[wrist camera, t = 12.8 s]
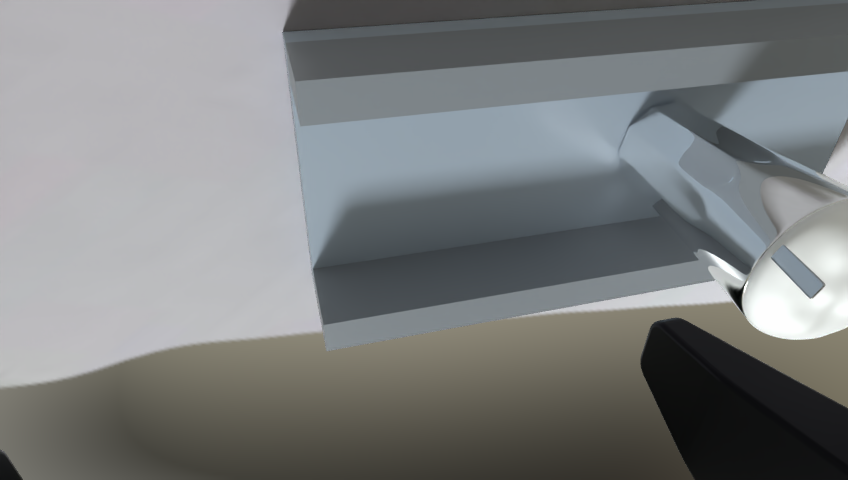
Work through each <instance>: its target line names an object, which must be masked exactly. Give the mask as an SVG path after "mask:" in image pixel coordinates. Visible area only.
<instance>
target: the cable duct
mask: <svg viewBox="0 0 848 480" xmlns="http://www.w3.org/2000/svg"><path fill="white" fill-rule="evenodd" d="M282 33H283V41H284V49H285V57H286V65H287V73H288V81H289V89H290V98H291V106H292V114H293V122H294V130H295V138H296V146H297V154H298V162H299V171H300V179H301V187H302V195H303V203H304V211H305V219H306V227H307V236H308V244H309V252H310V260H311V268H312V276H313V282H314V287H315V293H316V298H317V303H318V309H319V314H320V319H321V324H322V330H323V335H324V340H325V346H326V350H327V351H330V350H335V349H341V348H346V347H351V346H357V345H362V344H368V343H374V342H379V341H385V340H390V339H396V338H401V337H407V336H412V335H418V334H423V333H428V332H434V331H439V330H445V329H451V328H456V327H462V326H467V325H473V324H477V323H483V322H489V321H494V320H500V319H505V318H511V317H516V316H522V315H527V314H533V313H538V312H544V311H549V310H555V309H560V308H566V307H571V306H577V305H582V304H588V303H593V302H599V301H604V300H610V299H615V298H621V297H626V296H632V295H637V294H643V293H648V292H654V291H659V290H665V289H670V288H676V287H681V286H687V285H692V284H698V283H703V282H709V281H714V280H715V279H714V278H713V276H712V275H711V274H710V273H709V271H708V270H707V269H706V268H705V267H704V265H703V264H702V263H701V262H700V261H699V259H698V258H697V257H696V256H695V255H694V253H693V252H692V251H691V250H690V249H689V248H688V247H687V246H686V244H685V243H684V242H683V241H682V240H681V239H680V238H679V236H678V235H677V234H676V233H675V232H674V231H673V229H672V228H671V227H670V226H669V225H668V224H667V223H666V221H665V220H664V219H663V218H662V217H661V216H660V215H659V213H658V212H657V211H656V210H655V209H654V208H653V206H652V205H651V204H650V203H649V202H648V201H647V199H646V198H645V197H644V196H643V195H642V194H641V193H640V191H639V190H638V189H637V188H636V187H635V186H634V184H633V183H632V182H631V181H630V180H629V179H628V178H627V176H626V175H625V174H624V172H623V168H622V164H621V160H620V156H619V149H620V147H621V144H622V142H623V140H624V137H625V135H626V132H627V130H628V128H629V126H630V125H631V124H633V123H634V122H635V121H636V120H637V119H638V118H639V117H641V116H642V115H643V114H644V113H645V112H646V111H648V110H649V109H650V108H651V107H654V106H659V105H664V104H668V103H673V102H679V103H682V104H684V105H685V106H687V107H689V108H691V109H693V110H695V111H697V112H699V113H701V114H703V115H705V116H706V117H708V118H710V119H712V120H714V121H716V122H718V123H720V124H722V125H724V126H725V127H727V128H729V129H731V130H733V131H735V132H737V133H739V134H741V135H743V136H745V137H747V138H748V139H750V140H752V141H754V142H756V143H758V144H760V145H762V146H764V147H766V148H768V149H770V150H772V151H774V152H776V153H778V154H780V155H782V156H784V157H786V158H789V159H791V160H793V161H795V162H798V163H800V164H802V165H804V166H807V167H809V168H811V169H813V170H815V171H817V172H819V173H821V174H823V171H824V169H825V167H826V165H827V163H828V160H829V158H830V156H831V154H832V152H833V149H834V147H835V145H836V143H837V141H838V138H839V136H840V134H841V132H842V130H843V128H844V125H845V123H846V121H847V119H848V0H755V1H740V2H725V3H710V4H695V5H680V6H665V7H650V8H635V9H620V10H605V11H590V12H575V13H560V14H545V15H530V16H515V17H500V18H486V19H471V20H456V21H441V22H426V23H411V24H396V25H381V26H366V27H351V28H336V29H321V30H306V31H291V32H282Z"/></svg>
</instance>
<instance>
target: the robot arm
mask: <svg viewBox="0 0 848 480" xmlns="http://www.w3.org/2000/svg"><path fill="white" fill-rule="evenodd" d="M641 369H642V372H643V375H644V377H645V379H646V381H647V383H648V386H649V388H650V390H651V392H652V394H653V396H654V399H655V401H656V403H657V405H658V407H659V409H660V411H661V414H662V416H663V418H664V420H665V422H666V424H667V426H668V429H669V431H670V433H671V435H672V437H673V440H674V442H675V444H676V446H677V448H678V450H679V452H680V454H681V456H682V458H683V460H684V462H685V464H686V465H687V467H688V469H689V471H690V472H691V474H692V476H693V478H694V479H695V480H848V408H847V407H845V406H843V405H841V404H839V403H837V402H835V401H834V400H832V399H830V398H828V397H826V396H824V395H822V394H820V393H819V392H817V391H815V390H813V389H811V388H810V387H808V386H806V385H804V384H802V383H800V382H798V381H797V380H795V379H793V378H791V377H789V376H787V375H786V374H784V373H782V372H780V371H778V370H776V369H774V368H773V367H771V366H769V365H767V364H765V363H763V362H761V361H760V360H758V359H756V358H754V357H752V356H750V355H749V354H746V353H745V352H743V351H741V350H739V349H737V348H735V347H734V346H732V345H730V344H728V343H726V342H725V341H722V340H721V339H719V338H717V337H715V336H713V335H712V334H709V333H708V332H706V331H704V330H702V329H700V328H698V327H697V326H695V325H693V324H691V323H689V322H688V321H685V320H683V319H681V318H671V319H666V320H660V321H657V322H655V323H654V324H652V326H651V328H650V331H649V333H648V336H647V340H646V343H645V346H644V349H643V352H642V355H641ZM0 480H23V479H22V477H21V476H20V474H19V473H18V471H17V470H16V468H15V467H14V465H13V464H12V462H11V461H10V459H9V457H8V456H7V455H6V453H5V452H4V451H2V450H0Z"/></svg>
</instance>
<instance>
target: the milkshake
mask: <svg viewBox="0 0 848 480" xmlns="http://www.w3.org/2000/svg"><path fill="white" fill-rule="evenodd" d="M619 156H620V160H621V164H622V168H623V172H624V174H625V175H626V176H627V178H628V179H629V180H630V181H631V182H632V183H633V184H634V186H635V187H636V188H637V189H638V190H639V191H640V193H641V194H642V195H643V196H644V197H645V198H646V199H647V201H648V202H649V203H650V204H651V205H652V206H653V208H654V209H655V210H656V211H657V212H658V213H659V215H660V216H661V217H662V218H663V219H664V220H665V221H666V223H667V224H668V225H669V226H670V227H671V228H672V229H673V231H674V232H675V233H676V234H677V235H678V236H679V238H680V239H681V240H682V241H683V242H684V243H685V244H686V246H687V247H688V248H689V249H690V250H691V251H692V252H693V253H694V255H695V256H696V257H697V258H698V259H699V261H700V262H701V263H702V264H703V265H704V267H705V268H706V269H707V270H708V271H709V273H710V274H711V275H712V276H713V278H714V279H715V280H716V281H717V283H718V284H719V285H720V286H721V288H722V289H723V290H724V291H725V292H726V294H727V295H728V296H729V297H730V299H731V300H732V301H733V302H734V303H735V305H736V306H737V307H738V309H739V310H740V311H741V312H742V313H743V315H744V316H745V317H746V318H747V319H748V321H749V322H750V323H751V324H752V325H753V326H754V327H755V328H757V329H758V330H760V331H762V332H764V333H766V334H768V335H771V336H774V337H778V338H784V339H795V340H796V339H797V340H799V339H813V338H819V337H822V336H825V335H828V334H831V333H834V332H837V331H839V330H842V329H844V328H847V327H848V186H847V185H845V184H843V183H840V182H838V181H836V180H834V179H832V178H830V177H828V176H826V175H824V174H821V173H819V172H817V171H815V170H813V169H811V168H809V167H807V166H804V165H802V164H800V163H798V162H795V161H793V160H791V159H789V158H786V157H784V156H782V155H780V154H778V153H776V152H774V151H772V150H770V149H768V148H766V147H764V146H762V145H760V144H758V143H756V142H754V141H752V140H750V139H748V138H747V137H745V136H743V135H741V134H739V133H737V132H735V131H733V130H731V129H729V128H727V127H725V126H724V125H722V124H720V123H718V122H716V121H714V120H712V119H710V118H708V117H706V116H705V115H703V114H701V113H699V112H697V111H695V110H693V109H691V108H689V107H687V106H685V105H684V104H682V103H679V102H673V103H668V104H664V105H659V106H654V107H651V108H650V109H649V110H648V111H646V112H645V113H644V114H643V115H642V116H641V117H639V118H638V119H637V120H636V121H635V122H634V123H633V124H631V125H630V126H629V128H628V130H627V132H626V135H625V137H624V140H623V142H622V144H621V147H620V149H619Z"/></svg>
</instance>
